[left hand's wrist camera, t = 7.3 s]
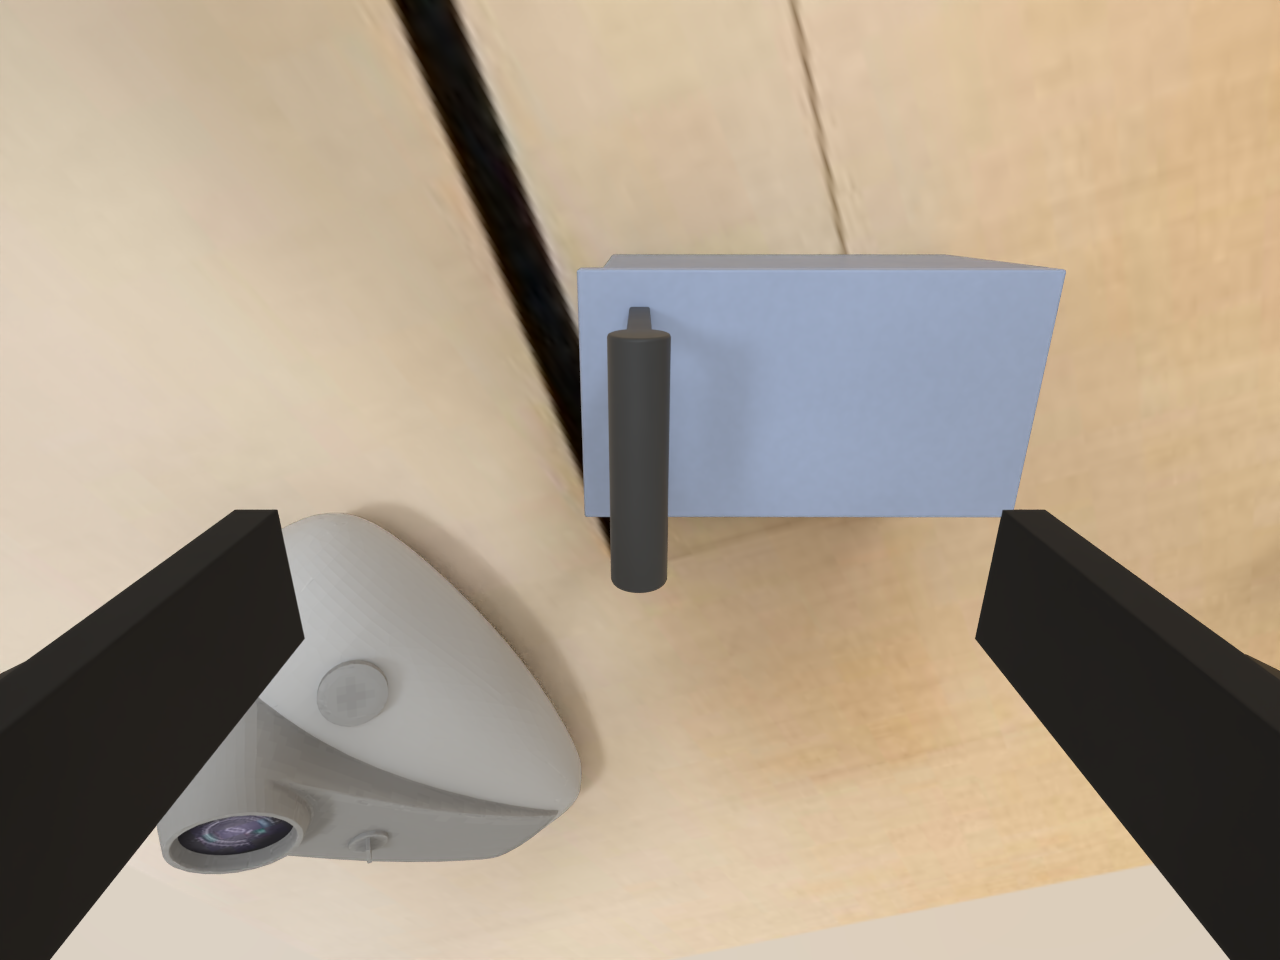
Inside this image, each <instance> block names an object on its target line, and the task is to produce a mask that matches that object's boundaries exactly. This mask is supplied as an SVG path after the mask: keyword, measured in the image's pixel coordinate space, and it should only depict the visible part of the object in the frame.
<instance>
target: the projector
mask: <svg viewBox="0 0 1280 960" xmlns="http://www.w3.org/2000/svg"><path fill="white" fill-rule="evenodd" d="M282 534H283V538H284V543H285V548H286V552H287V557H288V562H289V567H290V571H291V576H292V581H293V585H294V590H295V595H296V599H297V604H298V609H299V613H300V618H301V623H302V628H303V632H304V637H305V639H304V640H303V642H302V643H301V644H300V645H299V647H298V648H297V649H296V651H295V652H294V653H293V654H292V656H291V657H290V658H289V659H288V661H287V662H286V663H285V664H284V666H283V667H282V668H281V669H280V671H279V672H278V673H277V674H276V676H275V677H274V678H273V679H272V681H271V682H270V683H269V685H268V686H267V687H266V688H265V690H264V691H263V692H262V693H261V695H260V696H259V697H258V698H257V700H256V701H255V702H254V703H253V705H252V706H251V707H250V708H249V710H248V711H247V712H246V713H245V715H244V716H243V717H242V719H241V720H240V721H239V722H238V724H237V725H236V726H235V727H234V729H233V730H232V731H231V732H230V734H229V735H228V736H227V737H226V739H225V740H224V741H223V742H222V744H221V745H220V746H219V747H218V749H217V750H216V751H215V753H214V754H213V755H212V756H211V758H210V759H209V760H208V761H207V763H206V764H205V765H204V766H203V768H202V769H201V770H200V771H199V773H198V774H197V775H196V776H195V778H194V779H193V780H192V781H191V783H190V784H189V785H188V787H187V788H186V789H185V790H184V792H183V793H182V794H181V795H180V797H179V798H178V799H177V800H176V802H175V803H174V804H173V805H172V807H171V808H170V809H169V810H168V812H167V813H166V814H165V815H164V817H163V818H162V819H161V821H160V822H159V823H158V824H157V830H158V835H159V840H160V845H161V850H162V855H163V857H164V859H165V861H166V862H167V863H168V864H170V865H171V866H173V867H175V868H178V869H181V870H184V871H187V872H193V873H201V874H226V873H236V872H241V871H246V870H251V869H256V868H259V867H262V866H265V865H268V864H271V863H273V862H275V861H277V860H280V859H282V858H284V857H286V856H287V855H289V856H302V857H314V858H327V859H343V860H361V861H367V862H368V863H371V862H372V861H391V862H439V861H461V860H479V859H488V858H494V857H498V856H500V855H503V854H505V853H507V852H509V851H511V850H513V849H515V848H516V847H518V846H520V845H522V844H523V843H524V842H526V841H527V840H529V839H530V838H532V837H533V836H534V835H536V834H537V833H538V832H539V831H541V830H542V829H543V828H545V827H546V826H547V825H549V824H550V823H551V822H553V821H554V820H556V819H557V818H558V817H559V816H561V815H562V814H563V813H564V812H565V811H566V810H567V809H568V808H569V807H570V806H571V805H572V804H573V803H574V801H575V800H576V799H577V797H578V794H579V792H580V786H581V776H582V771H581V762H580V758H579V755H578V752H577V749H576V747H575V745H574V742H573V740H572V738H571V736H570V734H569V732H568V731H567V729H566V727H565V725H564V723H563V722H562V720H561V718H560V717H559V715H558V713H557V711H556V710H555V708H554V706H553V705H552V703H551V702H550V700H549V699H548V697H547V696H546V694H545V693H544V691H543V690H542V688H541V687H540V685H539V684H538V682H537V681H536V679H535V678H534V677H533V675H532V674H531V673H530V671H529V670H528V669H527V667H526V666H525V665H524V663H523V662H522V661H521V659H520V658H519V657H518V656H517V654H516V653H515V652H514V651H513V649H512V648H511V647H510V646H509V645H508V643H507V642H506V641H505V640H504V639H503V638H502V637H501V635H500V634H499V633H498V632H497V631H496V630H495V629H494V627H493V626H492V625H491V624H490V623H489V622H488V621H487V620H486V619H485V618H484V617H483V616H482V615H481V613H480V612H479V611H478V610H477V609H476V608H475V607H474V606H473V605H472V604H471V603H470V602H469V601H468V600H467V599H466V598H465V597H464V596H463V595H462V594H461V593H460V592H459V591H458V590H457V589H456V588H455V587H454V586H453V585H452V584H451V583H450V582H449V581H447V580H446V579H445V578H444V577H443V576H442V575H441V574H440V573H439V572H438V571H437V570H435V569H434V568H433V567H432V566H431V565H430V564H429V563H428V562H427V561H425V560H424V559H423V558H422V557H421V556H419V555H418V554H417V553H416V552H415V551H413V550H412V549H411V548H410V547H409V546H407V545H406V544H405V543H403V542H402V541H401V540H399V539H398V538H396V537H395V536H394V535H392V534H391V533H389V532H388V531H386V530H385V529H383V528H381V527H380V526H378V525H376V524H375V523H372V522H370V521H368V520H366V519H363V518H361V517H358V516H355V515H350V514H344V513H326V514H319V515H313V516H310V517H306V518H303V519H301V520H299V521H297V522H294V523H292V524H290V525H288V526H286V527H284V528H283V529H282Z"/></svg>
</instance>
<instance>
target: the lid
mask: <svg viewBox="0 0 1280 960" xmlns="http://www.w3.org/2000/svg"><path fill="white" fill-rule="evenodd" d="M1065 274H1066V271H1065V270H1063V269H1055V268H580V269H578V271H577V288H578V319H579V350H580V381H581V412H582V443H583V474H584V505H585V516H586V517H610V540H611V580H612V582H613V584H614V585H615V586H616V587H618V588H619V589H621V590H624V591H627V592H633V593H645V592H651V591H654V590H657V589H659V588H660V587H662V586H663V585H664V584H665V582H666V580H667V544H668V517H1001V515H1002V510H1014V506H1015V501H1016V497H1017V492H1018V488H1019V483H1020V479H1021V474H1022V469H1023V465H1024V460H1025V456H1026V451H1027V447H1028V442H1029V438H1030V433H1031V429H1032V424H1033V419H1034V415H1035V410H1036V406H1037V401H1038V397H1039V392H1040V388H1041V383H1042V378H1043V374H1044V369H1045V365H1046V360H1047V356H1048V351H1049V347H1050V342H1051V338H1052V333H1053V328H1054V324H1055V319H1056V315H1057V310H1058V306H1059V301H1060V297H1061V292H1062V288H1063V283H1064V278H1065Z"/></svg>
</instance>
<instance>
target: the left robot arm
mask: <svg viewBox="0 0 1280 960" xmlns="http://www.w3.org/2000/svg"><path fill="white" fill-rule="evenodd" d="M304 639H305V637H304V632H303V628H302V623H301V618H300V613H299V609H298V604H297V599H296V595H295V590H294V585H293V581H292V576H291V571H290V567H289V562H288V557H287V552H286V548H285V543H284V538H283V534H282V529H281V524H280V520H279V515H278V510H234V511H233V512H231V513H230V514H229V515H227V516H226V517H224V518H223V519H222V520H220V521H219V522H218V523H216V524H215V525H213V526H212V527H211V528H209V529H208V530H206V531H205V532H204V533H202V534H201V535H200V536H198V537H197V538H195V539H194V540H193V541H191V542H190V543H189V544H187V545H186V546H184V547H183V548H182V549H180V550H179V551H177V552H176V553H175V554H173V555H172V556H171V557H169V558H168V559H166V560H165V561H164V562H162V563H161V564H159V565H158V566H157V567H155V568H154V569H153V570H151V571H150V572H148V573H147V574H146V575H144V576H143V577H142V578H140V579H139V580H137V581H136V582H135V583H133V584H132V585H130V586H129V587H128V588H126V589H125V590H124V591H122V592H121V593H119V594H118V595H117V596H115V597H114V598H113V599H111V600H110V601H108V602H107V603H106V604H104V605H103V606H101V607H100V608H99V609H97V610H96V611H95V612H93V613H92V614H90V615H89V616H88V617H86V618H85V619H84V620H82V621H81V622H79V623H78V624H77V625H75V626H74V627H72V628H71V629H70V630H68V631H67V632H66V633H64V634H63V635H61V636H60V637H59V638H57V639H56V640H55V641H53V642H52V643H50V644H49V645H48V646H46V647H45V648H43V649H42V650H41V651H39V652H38V653H37V654H35V655H34V656H32V657H31V658H30V659H28V660H27V661H25V662H23V663H21V664H19V665H17V666H15V667H13V668H11V669H9V670H7V671H5V672H3V673H1V674H0V960H50V959H51V958H52V956H53V955H54V954H55V953H56V951H57V950H58V949H59V948H60V946H61V945H62V944H63V943H64V941H65V940H66V939H67V938H68V936H69V935H70V934H71V933H72V931H73V930H74V929H75V927H76V926H77V925H78V924H79V922H80V921H81V920H82V919H83V917H84V916H85V915H86V914H87V912H88V911H89V910H90V909H91V907H92V906H93V905H94V904H95V902H96V901H97V900H98V899H99V897H100V896H101V895H102V894H103V892H104V891H105V890H106V889H107V887H108V886H109V885H110V883H111V882H112V881H113V880H114V878H115V877H116V876H117V875H118V873H119V872H120V871H121V870H122V868H123V867H124V866H125V865H126V863H127V862H128V861H129V860H130V858H131V857H132V856H133V855H134V853H135V852H136V851H137V849H138V848H139V847H140V846H141V844H142V843H143V842H144V841H145V839H146V838H147V837H148V836H149V834H150V833H151V832H152V831H153V829H154V828H155V827H156V826H157V824H158V823H159V822H160V821H161V819H162V818H163V817H164V815H165V814H166V813H167V812H168V810H169V809H170V808H171V807H172V805H173V804H174V803H175V802H176V800H177V799H178V798H179V797H180V795H181V794H182V793H183V792H184V790H185V789H186V788H187V787H188V785H189V784H190V783H191V781H192V780H193V779H194V778H195V776H196V775H197V774H198V773H199V771H200V770H201V769H202V768H203V766H204V765H205V764H206V763H207V761H208V760H209V759H210V758H211V756H212V755H213V754H214V753H215V751H216V750H217V749H218V747H219V746H220V745H221V744H222V742H223V741H224V740H225V739H226V737H227V736H228V735H229V734H230V732H231V731H232V730H233V729H234V727H235V726H236V725H237V724H238V722H239V721H240V720H241V719H242V717H243V716H244V715H245V713H246V712H247V711H248V710H249V708H250V707H251V706H252V705H253V703H254V702H255V701H256V700H257V698H258V697H259V696H260V695H261V693H262V692H263V691H264V690H265V688H266V687H267V686H268V685H269V683H270V682H271V681H272V679H273V678H274V677H275V676H276V674H277V673H278V672H279V671H280V669H281V668H282V667H283V666H284V664H285V663H286V662H287V661H288V659H289V658H290V657H291V656H292V654H293V653H294V652H295V651H296V649H297V648H298V647H299V645H300V644H301V643H302V642H303V640H304ZM975 639H976V640H977V642H978V643H979V644H980V645H981V647H982V648H983V649H984V651H985V652H986V653H987V654H988V656H989V657H990V658H991V659H992V661H993V662H994V663H995V664H996V666H997V667H998V668H999V669H1000V671H1001V672H1002V673H1003V674H1004V676H1005V677H1006V678H1007V679H1008V681H1009V682H1010V683H1011V685H1012V686H1013V687H1014V688H1015V690H1016V691H1017V692H1018V693H1019V695H1020V696H1021V697H1022V698H1023V700H1024V701H1025V702H1026V703H1027V705H1028V706H1029V707H1030V708H1031V710H1032V711H1033V712H1034V713H1035V715H1036V716H1037V717H1038V719H1039V720H1040V721H1041V722H1042V724H1043V725H1044V726H1045V727H1046V729H1047V730H1048V731H1049V732H1050V734H1051V735H1052V736H1053V737H1054V739H1055V740H1056V741H1057V742H1058V744H1059V745H1060V746H1061V747H1062V749H1063V750H1064V751H1065V753H1066V754H1067V755H1068V756H1069V758H1070V759H1071V760H1072V761H1073V763H1074V764H1075V765H1076V766H1077V768H1078V769H1079V770H1080V771H1081V773H1082V774H1083V775H1084V776H1085V778H1086V779H1087V780H1088V781H1089V783H1090V784H1091V785H1092V787H1093V788H1094V789H1095V790H1096V792H1097V793H1098V794H1099V795H1100V797H1101V798H1102V799H1103V800H1104V802H1105V803H1106V804H1107V805H1108V807H1109V808H1110V809H1111V810H1112V812H1113V813H1114V814H1115V815H1116V817H1117V818H1118V819H1119V821H1120V822H1121V823H1122V824H1123V826H1124V827H1125V828H1126V829H1127V831H1128V832H1129V833H1130V834H1131V836H1132V837H1133V838H1134V839H1135V841H1136V842H1137V843H1138V844H1139V846H1140V847H1141V848H1142V849H1143V851H1144V852H1145V853H1146V855H1147V856H1148V857H1149V858H1150V860H1151V861H1152V862H1153V863H1154V865H1155V866H1156V867H1157V868H1158V870H1159V871H1160V872H1161V873H1162V875H1163V876H1164V877H1165V878H1166V880H1167V881H1168V882H1169V883H1170V885H1171V886H1172V887H1173V889H1174V890H1175V891H1176V892H1177V894H1178V895H1179V896H1180V897H1181V899H1182V900H1183V901H1184V902H1185V904H1186V905H1187V906H1188V907H1189V909H1190V910H1191V911H1192V912H1193V914H1194V915H1195V916H1196V917H1197V919H1198V920H1199V921H1200V923H1201V924H1202V925H1203V926H1204V927H1205V929H1206V930H1207V931H1208V933H1209V934H1210V935H1211V936H1212V938H1213V939H1214V940H1215V941H1216V943H1217V944H1218V945H1219V946H1220V948H1221V949H1222V950H1223V951H1224V953H1225V954H1226V955H1227V956H1228V958H1229V959H1230V960H1280V671H1279V670H1277V669H1275V668H1273V667H1271V666H1269V665H1267V664H1265V663H1263V662H1261V661H1259V660H1257V659H1255V658H1253V657H1251V656H1249V655H1245V654H1243V653H1242V652H1241V651H1239V650H1238V649H1237V648H1235V647H1234V646H1232V645H1231V644H1230V643H1228V642H1227V641H1225V640H1224V639H1223V638H1221V637H1220V636H1219V635H1217V634H1216V633H1214V632H1213V631H1212V630H1210V629H1209V628H1208V627H1206V626H1205V625H1203V624H1202V623H1201V622H1199V621H1198V620H1196V619H1195V618H1194V617H1192V616H1191V615H1190V614H1188V613H1187V612H1185V611H1184V610H1183V609H1181V608H1180V607H1179V606H1177V605H1176V604H1174V603H1173V602H1172V601H1170V600H1169V599H1167V598H1166V597H1165V596H1163V595H1162V594H1161V593H1159V592H1158V591H1156V590H1155V589H1154V588H1152V587H1151V586H1150V585H1148V584H1147V583H1145V582H1144V581H1143V580H1141V579H1140V578H1138V577H1137V576H1136V575H1134V574H1133V573H1132V572H1130V571H1129V570H1127V569H1126V568H1125V567H1123V566H1122V565H1121V564H1119V563H1118V562H1116V561H1115V560H1114V559H1112V558H1111V557H1109V556H1108V555H1107V554H1105V553H1104V552H1103V551H1101V550H1100V549H1098V548H1097V547H1096V546H1094V545H1093V544H1091V543H1090V542H1089V541H1087V540H1086V539H1085V538H1083V537H1082V536H1080V535H1079V534H1078V533H1076V532H1075V531H1074V530H1072V529H1071V528H1069V527H1068V526H1067V525H1065V524H1064V523H1062V522H1061V521H1060V520H1058V519H1057V518H1056V517H1054V516H1053V515H1051V514H1050V513H1049V512H1047V511H1046V510H1002V515H1001V520H1000V524H999V529H998V534H997V538H996V543H995V548H994V552H993V557H992V562H991V567H990V571H989V576H988V581H987V585H986V590H985V595H984V599H983V604H982V609H981V613H980V618H979V623H978V628H977V632H976V637H975Z"/></svg>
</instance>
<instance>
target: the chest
mask: <svg viewBox="0 0 1280 960" xmlns="http://www.w3.org/2000/svg"><path fill="white" fill-rule="evenodd" d="M603 268H1048V267H1040V266H1032V265H1024V264H1016V263H1008V262H1000V261H992V260H984V259H976V258H968V257H960V256H951V255H612V256H611V258H610V259H609V260H608V262H607V263H606V265H605V266H604V267H603Z"/></svg>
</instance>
